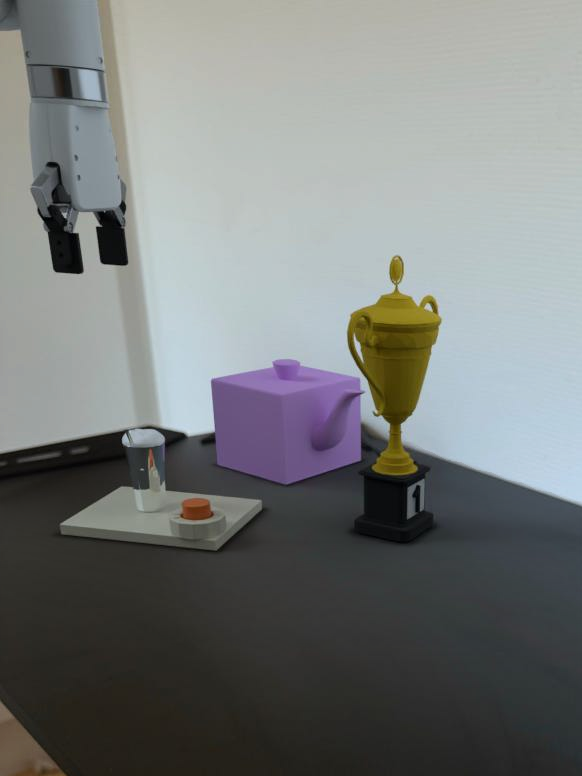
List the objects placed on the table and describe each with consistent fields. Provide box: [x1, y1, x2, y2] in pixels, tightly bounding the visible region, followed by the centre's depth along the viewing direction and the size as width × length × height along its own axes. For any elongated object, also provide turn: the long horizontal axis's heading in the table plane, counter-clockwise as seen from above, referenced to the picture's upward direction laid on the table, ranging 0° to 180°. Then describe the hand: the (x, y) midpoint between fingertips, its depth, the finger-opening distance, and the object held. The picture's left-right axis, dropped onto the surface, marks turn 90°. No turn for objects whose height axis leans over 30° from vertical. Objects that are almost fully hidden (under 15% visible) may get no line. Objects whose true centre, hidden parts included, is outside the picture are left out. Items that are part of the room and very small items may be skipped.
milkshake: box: [121, 428, 166, 512], centre depth 105 cm, size 4×5×10 cm
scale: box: [59, 485, 263, 552], centre depth 107 cm, size 18×14×3 cm
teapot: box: [210, 358, 366, 486], centre depth 127 cm, size 15×25×14 cm, turn 56°
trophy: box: [346, 254, 443, 543], centre depth 102 cm, size 19×10×30 cm, turn 155°
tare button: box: [182, 498, 211, 520], centre depth 101 cm, size 3×3×2 cm
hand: (92, 268), depth 103 cm, fingers open, 9 cm apart
